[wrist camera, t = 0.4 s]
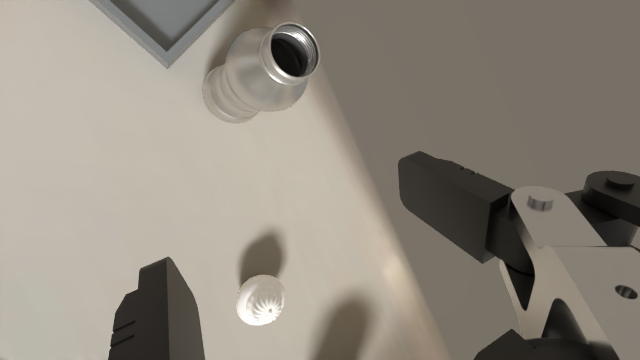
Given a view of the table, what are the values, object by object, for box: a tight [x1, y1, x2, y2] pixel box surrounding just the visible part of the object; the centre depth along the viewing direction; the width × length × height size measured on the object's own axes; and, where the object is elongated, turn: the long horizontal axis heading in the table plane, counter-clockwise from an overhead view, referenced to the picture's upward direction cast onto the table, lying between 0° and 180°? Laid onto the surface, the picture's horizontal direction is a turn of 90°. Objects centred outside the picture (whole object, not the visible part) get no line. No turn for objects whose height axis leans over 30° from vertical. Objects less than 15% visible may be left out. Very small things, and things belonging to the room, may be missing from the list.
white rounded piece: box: [236, 274, 285, 325], centre depth 38 cm, size 6×6×7 cm
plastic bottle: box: [202, 21, 320, 123], centre depth 28 cm, size 6×7×20 cm
